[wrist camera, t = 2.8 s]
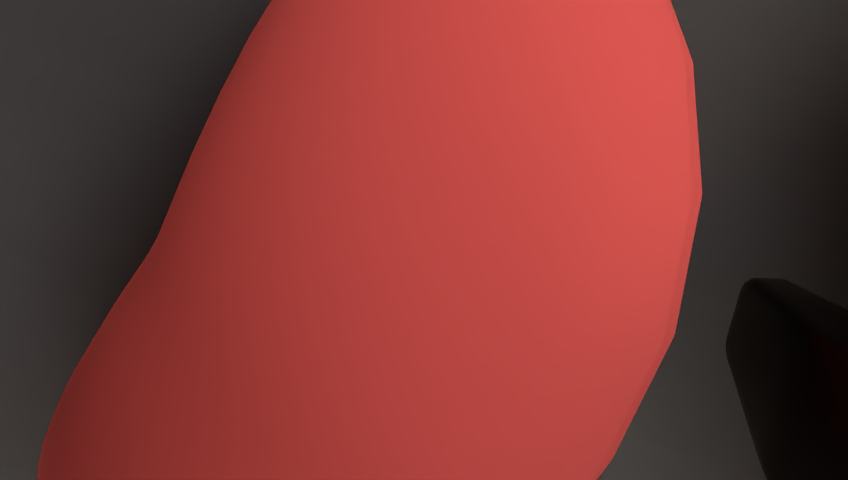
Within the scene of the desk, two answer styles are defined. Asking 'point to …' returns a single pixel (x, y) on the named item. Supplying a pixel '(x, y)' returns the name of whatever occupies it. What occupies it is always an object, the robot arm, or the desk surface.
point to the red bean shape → (407, 252)
